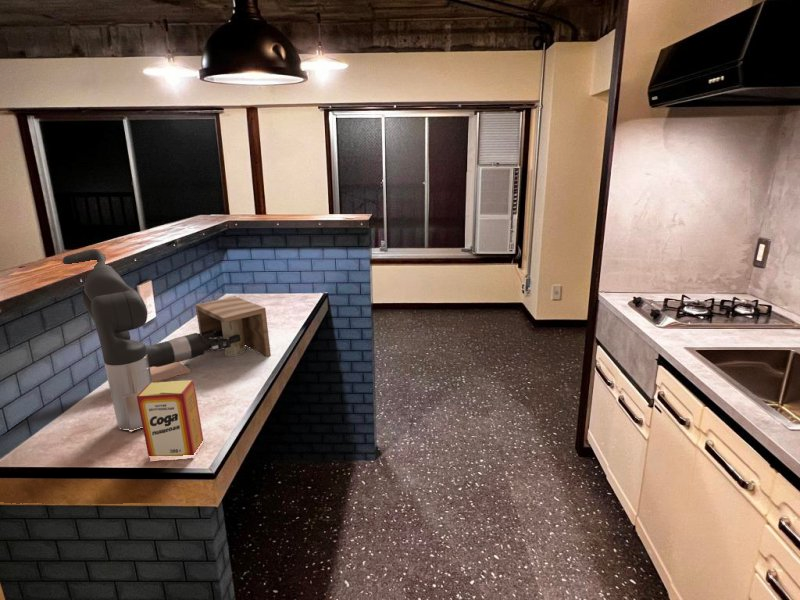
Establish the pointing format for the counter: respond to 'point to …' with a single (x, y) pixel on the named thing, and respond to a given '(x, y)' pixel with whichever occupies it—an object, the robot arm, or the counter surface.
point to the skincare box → (231, 330)
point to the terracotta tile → (167, 371)
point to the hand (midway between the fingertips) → (234, 334)
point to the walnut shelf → (233, 310)
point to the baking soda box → (170, 418)
